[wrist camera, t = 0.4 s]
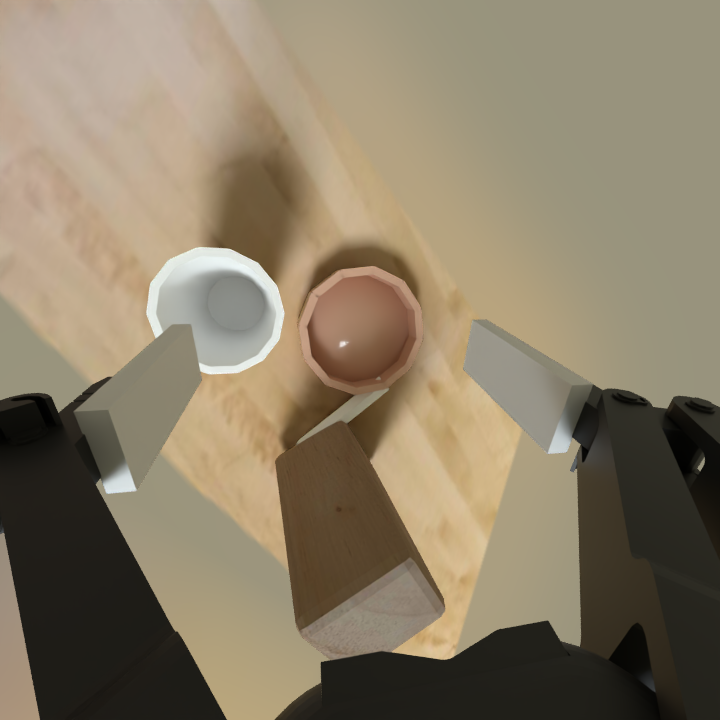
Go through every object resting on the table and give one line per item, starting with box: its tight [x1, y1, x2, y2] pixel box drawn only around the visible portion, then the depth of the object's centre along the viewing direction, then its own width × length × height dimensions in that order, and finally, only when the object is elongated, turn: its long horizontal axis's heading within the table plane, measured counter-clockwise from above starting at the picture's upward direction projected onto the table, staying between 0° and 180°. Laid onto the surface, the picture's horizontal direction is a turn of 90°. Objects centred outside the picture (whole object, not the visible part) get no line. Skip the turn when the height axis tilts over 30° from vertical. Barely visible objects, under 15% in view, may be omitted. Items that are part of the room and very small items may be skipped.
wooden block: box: [275, 420, 445, 660], centre depth 33 cm, size 10×10×20 cm
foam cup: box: [146, 247, 284, 374], centre depth 30 cm, size 10×9×13 cm
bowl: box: [297, 266, 423, 395], centre depth 39 cm, size 15×15×3 cm
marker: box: [295, 377, 389, 446], centre depth 41 cm, size 3×2×16 cm
